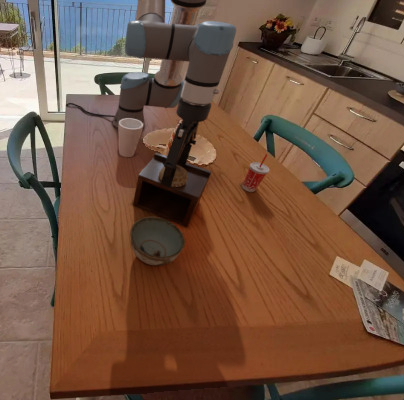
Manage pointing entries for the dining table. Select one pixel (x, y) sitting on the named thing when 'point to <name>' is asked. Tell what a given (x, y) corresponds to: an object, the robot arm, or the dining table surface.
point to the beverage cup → (255, 175)
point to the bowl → (156, 240)
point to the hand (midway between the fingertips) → (174, 173)
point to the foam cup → (129, 136)
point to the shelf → (170, 191)
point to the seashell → (177, 176)
